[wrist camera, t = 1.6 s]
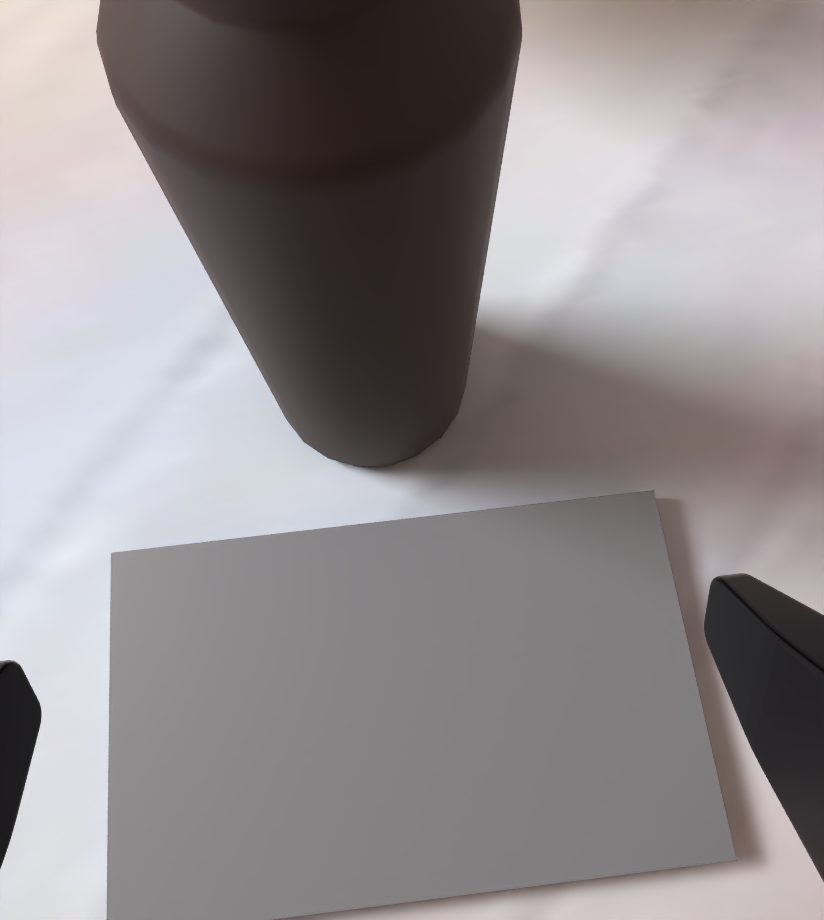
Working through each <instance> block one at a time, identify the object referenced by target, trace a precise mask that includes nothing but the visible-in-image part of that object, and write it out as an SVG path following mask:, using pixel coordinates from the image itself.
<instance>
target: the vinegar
mask: <svg viewBox="0 0 824 920" xmlns="http://www.w3.org/2000/svg"><path fill="white" fill-rule="evenodd" d="M96 32H97V44H98V47H99V51H100V54H101V58H102V61H103V64H104V68H105V71H106V75H107V78H108V82H109V85H110V89H111V92H112V95H113V98H114V100H115V103H116V106H117V107H118V109H119V111H120V113H121V115H122V117H123V118H124V120H125V122H126V124H127V126H128V128H129V130H130V131H131V133H132V135H133V137H134V139H135V141H136V142H137V144H138V146H139V148H140V150H141V152H142V154H143V155H144V157H145V159H146V161H147V163H148V165H149V166H150V168H151V170H152V172H153V174H154V176H155V178H156V179H157V181H158V183H159V185H160V187H161V189H162V190H163V192H164V194H165V196H166V198H167V200H168V202H169V203H170V205H171V207H172V209H173V211H174V213H175V214H176V216H177V218H178V220H179V222H180V224H181V226H182V227H183V229H184V231H185V233H186V235H187V237H188V238H189V240H190V242H191V244H192V246H193V248H194V250H195V251H196V253H197V255H198V257H199V259H200V261H201V262H202V264H203V266H204V268H205V270H206V272H207V274H208V275H209V277H210V279H211V281H212V283H213V285H214V286H215V288H216V290H217V292H218V294H219V296H220V298H221V299H222V301H223V303H224V305H225V307H226V309H227V310H228V312H229V314H230V316H231V318H232V320H233V322H234V323H235V325H236V327H237V329H238V331H239V333H240V334H241V336H242V338H243V340H244V342H245V344H246V346H247V347H248V349H249V351H250V353H251V355H252V357H253V358H254V360H255V362H256V364H257V366H258V368H259V370H260V371H261V373H262V375H263V377H264V379H265V381H266V382H267V384H268V386H269V388H270V390H271V392H272V394H273V395H274V397H275V399H276V401H277V403H278V405H279V406H280V408H281V410H282V412H283V414H284V416H285V418H286V419H287V421H288V422H289V423H290V425H291V426H292V427H293V429H294V430H295V431H296V432H297V434H298V435H299V436H300V438H301V439H302V440H303V442H305V443H306V444H308V445H309V446H311V447H312V448H314V449H315V450H317V451H318V452H320V453H321V454H323V455H324V456H326V457H327V458H329V459H333V460H336V461H340V462H344V463H347V464H351V465H354V466H387V465H391V464H394V463H397V462H399V461H402V460H405V459H408V458H411V457H414V456H417V455H418V454H419V453H421V452H422V451H423V450H425V449H426V448H427V447H429V446H430V445H431V444H433V443H434V442H435V441H437V440H438V439H439V438H441V437H442V435H443V434H444V432H445V431H446V429H447V428H448V427H449V425H450V424H451V422H452V421H453V419H454V418H455V417H456V415H457V414H458V410H459V407H460V403H461V400H462V396H463V393H464V389H465V385H466V379H467V373H468V367H469V360H470V354H471V348H472V342H473V336H474V330H475V324H476V317H477V311H478V305H479V299H480V293H481V287H482V281H483V275H484V268H485V262H486V256H487V250H488V244H489V238H490V232H491V225H492V219H493V213H494V207H495V201H496V195H497V189H498V183H499V176H500V170H501V164H502V158H503V152H504V146H505V140H506V133H507V127H508V121H509V115H510V109H511V103H512V97H513V90H514V84H515V78H516V72H517V66H518V60H519V54H520V48H521V41H522V24H521V14H520V4H519V0H100V7H99V15H98V23H97V30H96Z"/></svg>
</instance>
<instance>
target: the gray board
mask: <svg viewBox="0 0 824 920" xmlns="http://www.w3.org/2000/svg"><path fill="white" fill-rule="evenodd" d="M735 860H736V855H735V851H734V846H733V842H732V837H731V833H730V828H729V824H728V820H727V815H726V811H725V806H724V802H723V797H722V793H721V788H720V784H719V779H718V775H717V770H716V766H715V761H714V757H713V753H712V748H711V744H710V739H709V735H708V730H707V726H706V721H705V717H704V712H703V708H702V703H701V699H700V695H699V690H698V686H697V681H696V677H695V672H694V668H693V663H692V659H691V654H690V650H689V645H688V641H687V637H686V632H685V628H684V623H683V619H682V614H681V610H680V605H679V601H678V596H677V592H676V587H675V583H674V578H673V574H672V570H671V565H670V561H669V556H668V552H667V547H666V543H665V538H664V534H663V529H662V525H661V520H660V516H659V512H658V507H657V503H656V498H655V494H654V490H652V491H644V492H635V493H626V494H618V495H609V496H600V497H592V498H583V499H574V500H566V501H557V502H548V503H540V504H531V505H522V506H514V507H505V508H496V509H488V510H479V511H470V512H462V513H453V514H444V515H436V516H427V517H418V518H410V519H401V520H392V521H384V522H375V523H366V524H358V525H349V526H340V527H332V528H323V529H314V530H306V531H297V532H288V533H280V534H271V535H262V536H254V537H245V538H236V539H228V540H219V541H210V542H202V543H193V544H184V545H176V546H167V547H158V548H150V549H141V550H132V551H124V552H115V553H111V605H110V687H109V768H108V850H107V920H274V919H282V918H290V917H297V916H305V915H313V914H321V913H329V912H337V911H344V910H352V909H360V908H368V907H376V906H383V905H391V904H399V903H407V902H415V901H423V900H430V899H438V898H446V897H454V896H462V895H469V894H477V893H485V892H493V891H501V890H509V889H516V888H524V887H532V886H540V885H548V884H555V883H563V882H571V881H579V880H587V879H595V878H602V877H610V876H618V875H626V874H634V873H641V872H649V871H657V870H665V869H673V868H681V867H688V866H696V865H704V864H712V863H720V862H727V861H735Z"/></svg>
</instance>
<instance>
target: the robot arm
mask: <svg viewBox="0 0 824 920" xmlns="http://www.w3.org/2000/svg"><path fill="white" fill-rule="evenodd" d="M704 631H705V637H706V641H707V643H708V646H709V648H710V651H711V653H712V655H713V658H714V660H715V663H716V665H717V668H718V670H719V672H720V675H721V677H722V680H723V682H724V684H725V687H726V689H727V692H728V694H729V697H730V699H731V701H732V704H733V706H734V709H735V711H736V713H737V716H738V718H739V721H740V723H741V725H742V728H743V730H744V733H745V735H746V737H747V739H748V742H749V744H750V746H751V748H752V750H753V752H754V754H755V756H756V758H757V760H758V762H759V764H760V766H761V768H762V770H763V771H764V773H765V775H766V777H767V779H768V781H769V782H770V784H771V786H772V788H773V790H774V792H775V793H776V795H777V797H778V799H779V801H780V803H781V804H782V806H783V808H784V810H785V812H786V814H787V815H788V817H789V819H790V821H791V823H792V825H793V826H794V828H795V830H796V832H797V834H798V836H799V837H800V839H801V841H802V843H803V845H804V847H805V848H806V850H807V852H808V854H809V856H810V858H811V859H812V861H813V863H814V865H815V867H816V869H817V870H818V872H819V874H820V876H821V878H822V880H823V881H824V615H822V614H821V613H819V612H817V611H815V610H813V609H811V608H809V607H808V606H806V605H804V604H802V603H800V602H798V601H797V600H795V599H793V598H791V597H789V596H787V595H786V594H784V593H782V592H780V591H778V590H776V589H775V588H773V587H771V586H769V585H767V584H765V583H763V582H762V581H760V580H758V579H756V578H754V577H752V576H750V575H748V574H741V573H740V574H732V575H723V576H718V577H716V578H714V579H713V580H712V582H711V585H710V590H709V596H708V602H707V608H706V615H705V621H704ZM40 724H41V707H40V703H39V701H38V699H37V697H36V695H35V693H34V691H33V689H32V687H31V685H30V683H29V681H28V679H27V677H26V675H25V673H24V671H23V669H22V668H21V666H20V665H19V664H18V663H17V662H15V661H11V660H7V661H0V868H1V866H2V863H3V860H4V857H5V854H6V851H7V848H8V845H9V842H10V839H11V836H12V832H13V829H14V825H15V822H16V818H17V814H18V810H19V806H20V802H21V798H22V795H23V791H24V787H25V783H26V779H27V775H28V771H29V767H30V763H31V759H32V755H33V752H34V748H35V744H36V740H37V736H38V732H39V728H40Z"/></svg>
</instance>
